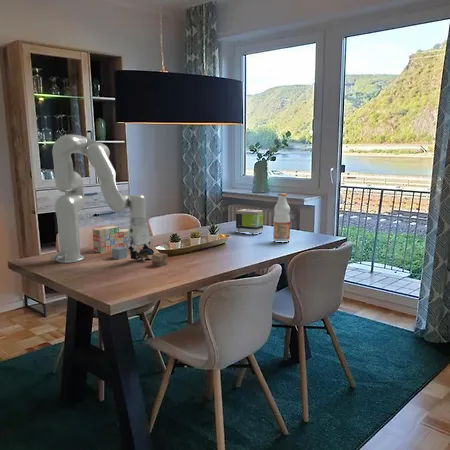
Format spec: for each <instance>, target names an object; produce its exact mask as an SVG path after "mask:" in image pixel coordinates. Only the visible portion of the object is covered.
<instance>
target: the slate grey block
mask: <svg viewBox="0 0 450 450" xmlns="http://www.w3.org/2000/svg"><path fill="white" fill-rule="evenodd" d="M111 252H112V253H111V254H112V255H111V256H112V259H116V260H123V259H126V258H128V247H126V248H125V247H116V248H112V251H111Z"/></svg>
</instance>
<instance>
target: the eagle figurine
mask: <svg viewBox="0 0 450 450" xmlns="http://www.w3.org/2000/svg"><path fill="white" fill-rule="evenodd" d="M135 251H136V259H134V261H135V262H137V261H138V259H141V260H142V261H143V262H145V261H146V259H149V260H151V261H152V257H150V256H152V255H154V254H155V250H154V249H153V248H150V247H148V248H145V249H143V248H141V249H140V250H139V251H137V250H135Z"/></svg>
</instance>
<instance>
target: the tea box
mask: <svg viewBox="0 0 450 450" xmlns="http://www.w3.org/2000/svg"><path fill="white" fill-rule="evenodd" d="M262 230H263V231H264V210H263V209H262V210H260V209H246V208H245V209H244V208H243V209H238V210H236V211H235V232H236V231H238V232H249V233H258V232H260V231H262Z"/></svg>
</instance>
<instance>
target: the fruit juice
mask: <svg viewBox="0 0 450 450" xmlns="http://www.w3.org/2000/svg"><path fill="white" fill-rule="evenodd" d="M277 196H278V199H277V202H276V204H275V206H274V208H273V212H274V216H273V239H272V240H274V241H289V240H290V241H291V238H290V237H291V215H290V213H291V207H290V205H289V203H288V201H287V200H288V199H287V196H288V194H287V193H277ZM274 241H273V242H274ZM290 241H289V242H290Z"/></svg>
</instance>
